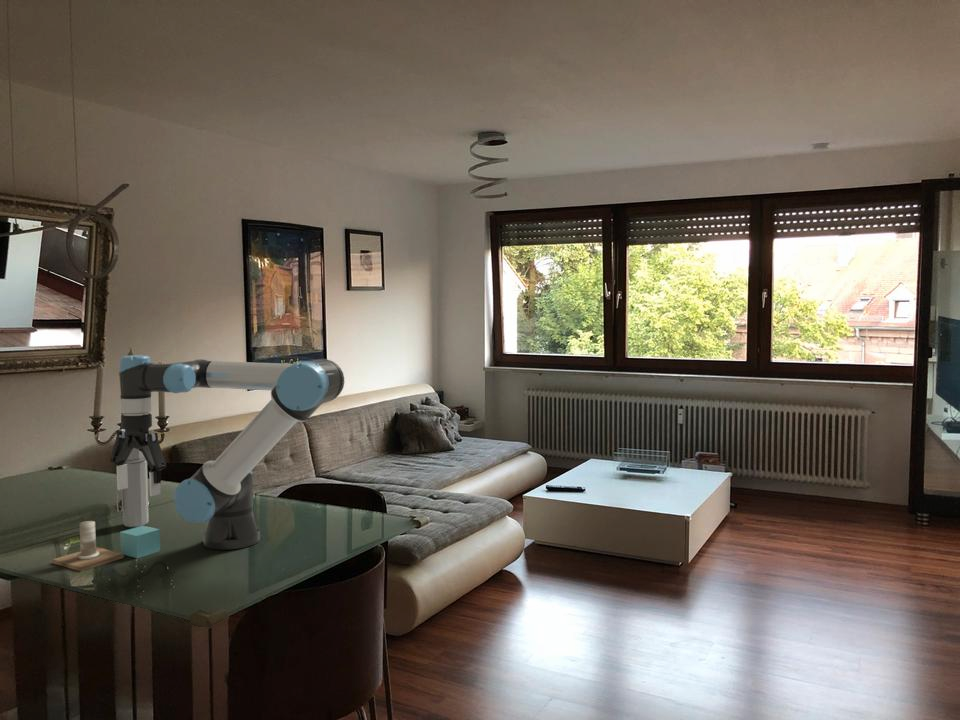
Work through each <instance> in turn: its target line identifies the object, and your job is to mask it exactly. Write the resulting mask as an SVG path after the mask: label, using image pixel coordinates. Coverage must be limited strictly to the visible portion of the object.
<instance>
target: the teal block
mask: <svg viewBox="0 0 960 720" xmlns="http://www.w3.org/2000/svg"><path fill="white" fill-rule="evenodd" d="M119 542H120V546H119V547H120V553H122V554H124V556H128V557H131V558H135V559H140V558H143V557H146V556H148V555H149V556H150V555H153V554H155V553H158V552H161V529H160V528H156V527H152V526H151V527H150V526H146V525H144V526H139V527H131V528H129V529H126V530H123V531H122V530H121V531H120V532H119Z"/></svg>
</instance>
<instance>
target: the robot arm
mask: <svg viewBox="0 0 960 720" xmlns="http://www.w3.org/2000/svg"><path fill="white" fill-rule="evenodd" d="M118 375H119V385H120V399H119V400H120V401H119V402H120V403H119V404H120V410H119V411H120V413H121V416H120V428H121V429H117V430H116V437H115V442H114V446H113V448H112V451H111V455H110V458H109V461H110V463H113V464H114V466H115V471H116V472H115V476H116V488H117V489H116V490H117V491H118V490H119V491H121V489H125V488H128V472H127V464H126V460H127V458H128V457H129V455H130V453H131V451H132V450H133V448H135V449H138V450H139V451H141V452H142V454H143V455H144V457H145V460H146V461H147V466H148V467H149V469H150V470H149V471H148V475H149V477H148V483H149V496H150V497H154V496H158V495H161V493H162V491H161V482H162V474H161V473H162V470H164V469H167V463H166V459H165V457H164V454H163V450H162V449H161V444H160V442H159V435H158V433H157V432H152V433H150V431H149V429H151V428H152V427H153V416H152V415H153V414H151V412H152V393H159V392H160V393H172V394H181V393H189V392H190V391H192V389H196V388H203V389H204V388H205V389H208V388H209V389H210V388H211V389H213V388H215V389H231V390H253V391H270V398H271V399H270V400H269V401H268V403H266V405H265V406H264V407H263V408H262V409H261V410H260V411H259V412H258V413H257V415H256V416H255V417H254V418H253V419H252V420H251V421H250V422H249V423H248V424H247V425H246V426H245V427H244V428H243V429H242V431H241V432H239V434H238V435H237V436H236V437H235V438H234V439H233V440H232V442H230V444H229V445H228V446H227V447H226V448H225V449H224V450H223V452H222V453H221V454H219V456H217V458H216V459H215V460H207V461H206V462H204V463H203V465H202V466H200V468H199V469H198V470H197V471H196V472H195V473H194V474H193V475H192V476H191V477H190V478H186V479H184V480H182V481H181V482H180V483H179V484H178V485H177V486H176V488H175V490H174V492H173V500H174V503H173V504H174V507H175V510H176V511H177V512H178V514H179V515H180V517H182V518H183V519H184V520H185V521H188V522H190V523H195V524H199V523H203V522H206V521H207V525H206V530H205V532H204V534H203V546H204V547H205V548H208V549H211V550H219V551H221V550H222V551H223V550H224V551H225V550H228V551H229V550H237V549H242V548H248V547H250V546H253V545H255V544H257V543H258V542H259V541H260V540H261V538H260V537H261V534H260V533H261V532H260V529H259V527H258V523H257V521H256V518H255V516H254V508H253V506H254V504H253V503H254V499H253V498H254V494H253V493H254V491H253V490H254V489H253V488H254V487H253V486H254V485H253V476H254V474H253V469H254V468H255V467H256V466H257V465H258V464H259V463H260V462H261V461H262V459H264V457H265V456H266V455H267V454H268V453H269V452H270V451H271V450H272V449H273V448H274V446H276V445H277V444H278V442H279V441H280V440H281V439H282V438H283V437H284V436H285V435H286V434H287V433H288V432H289V430H291V428H293V426H294V425H296V423H298V422H299V423H300V422H302V423H303V422H306V421H307V420H308V419H309V418H310V417H311V416H312V415H313V414H314V413H315V412H316V411H317V409H318V408H320V406H322V405H324V404H327V403H328V402H332V401H334V400H335V399H336V398H337V397H339V396H340V395H341V393H342V391H343V389H344V385H345V375H344V372H343V370H342V368H341V367H340V366H339V365H338V364H337V362H334V361H333V360H331V359H328V358H327V359H326V358H319V359H318V358H317V359H312V360H299V361H297V362H295V363H277V362H254V361H253V362H250V361H249V362H248V361H226V360H225V361H222V360H221V361H218V360H209V359H203V358H202V359H201V358H200V359H195V360H189V361H180V362H174V363H153V362H152V361H151V357H150V356H149V355H140V354H139V355H138V354H135V355H124V356H122V357H121V358H120V359H119V371H118ZM123 464H124V465H123Z"/></svg>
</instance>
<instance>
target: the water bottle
mask: <svg viewBox="0 0 960 720" xmlns="http://www.w3.org/2000/svg"><path fill="white" fill-rule="evenodd" d="M126 464H127V472H128V488H125V489H121V490H117V495H116V503H115V504H116V509H117V512H118V513H122V524H123V525H124V526H125V528H136V527H139V526H146V525H147V524H149V522H150V520H149V518H150V516H149V515H150V514H149V487H148V486H149V484H148V483H149V477H148V463H147V461H146V459H145V457H144V455H143V454H142V452H141V451H139V450H138V449H135V448H133V450H132V451H131V453H130V455H129V457H128V458H127V460H126ZM123 465H124V464H123ZM120 492H121V493H120ZM119 495H121V496H120V497H121V509H120V510H119Z"/></svg>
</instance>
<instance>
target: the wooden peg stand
mask: <svg viewBox="0 0 960 720" xmlns="http://www.w3.org/2000/svg"><path fill="white" fill-rule="evenodd" d="M96 537H97V536H96V522H95V521H94V520H85V521H82V522H79V542H80V543H79V547H80V551H76V552H73V553H70V554H67V555H66V554H65V555H63V556H59V557H56V558H53V559H51V561H52V564H54V565H58V566H61V567H64V568H68V569H71V570H75V571H78V572H83V571H86V570H90V569H93V568H97V567H99V566H102V565H106V564H109V563H112V562H115V561H117V560H120V559H124V558H125V555H124V554H122V553H121V552H119V551H118V552H117V551H114V550H109V549H107V548H102V547H98V546H97V540H96Z"/></svg>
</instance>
